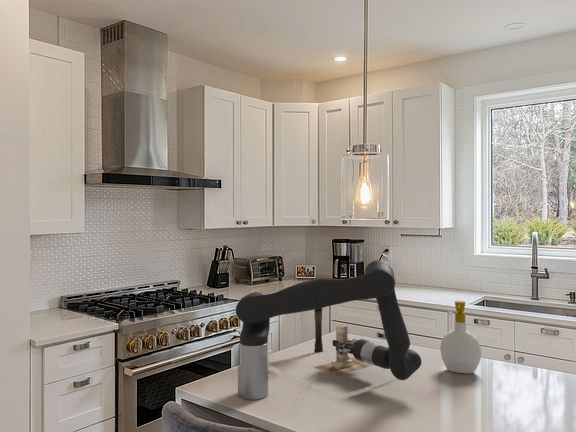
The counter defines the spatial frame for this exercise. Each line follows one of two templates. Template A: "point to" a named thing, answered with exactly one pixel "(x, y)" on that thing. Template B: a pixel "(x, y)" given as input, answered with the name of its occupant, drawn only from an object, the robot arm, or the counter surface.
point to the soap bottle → (460, 345)
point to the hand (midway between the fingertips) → (336, 341)
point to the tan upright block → (343, 359)
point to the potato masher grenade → (318, 330)
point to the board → (335, 371)
